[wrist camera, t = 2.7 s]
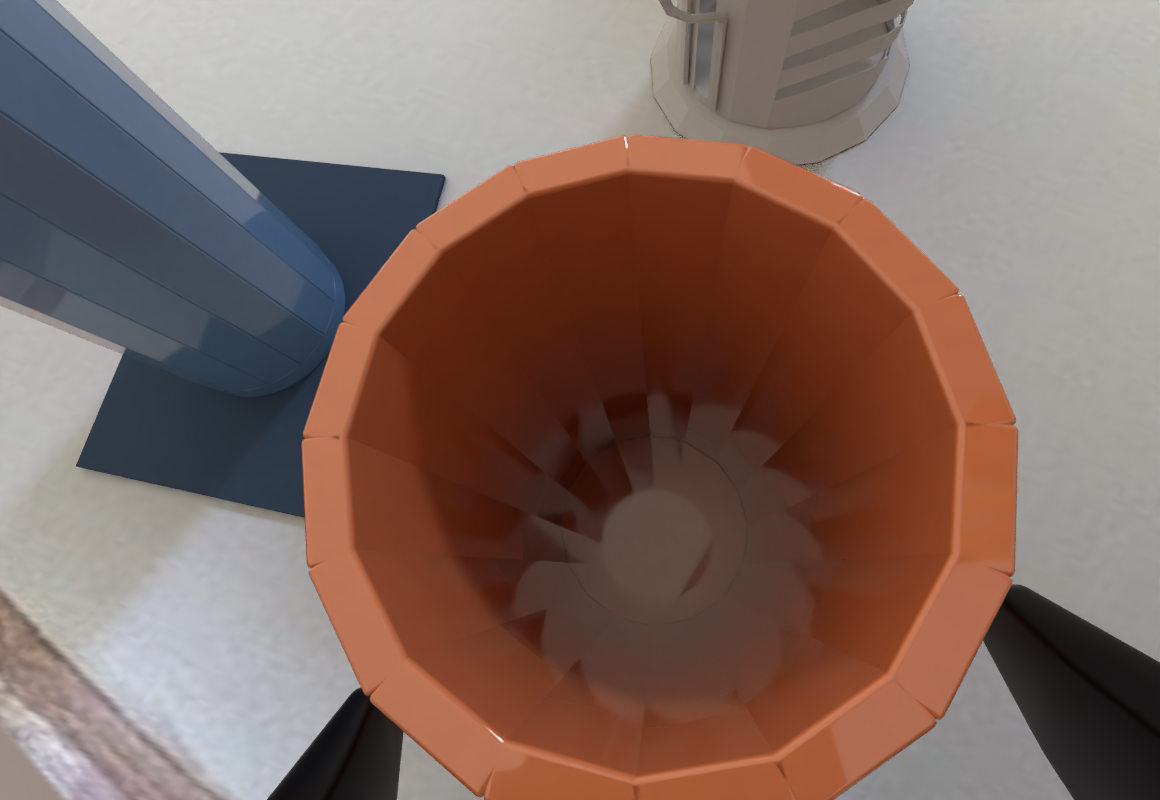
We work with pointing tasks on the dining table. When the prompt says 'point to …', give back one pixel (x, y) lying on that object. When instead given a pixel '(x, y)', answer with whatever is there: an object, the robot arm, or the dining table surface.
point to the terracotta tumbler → (660, 481)
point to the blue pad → (276, 421)
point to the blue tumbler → (145, 222)
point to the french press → (781, 72)
